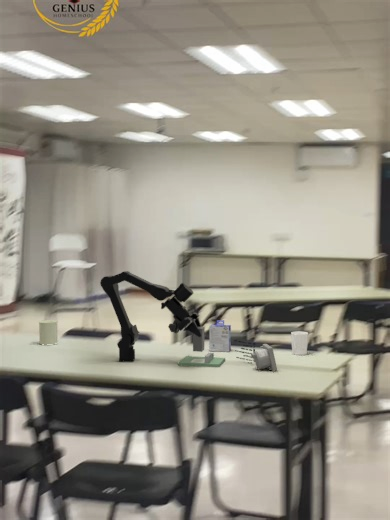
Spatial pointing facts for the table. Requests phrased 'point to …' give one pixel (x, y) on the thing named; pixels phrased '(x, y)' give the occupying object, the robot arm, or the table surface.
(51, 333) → the can
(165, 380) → the table surface
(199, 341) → the grey square pillar
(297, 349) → the white cup
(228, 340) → the ink cartridge box
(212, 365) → the board
